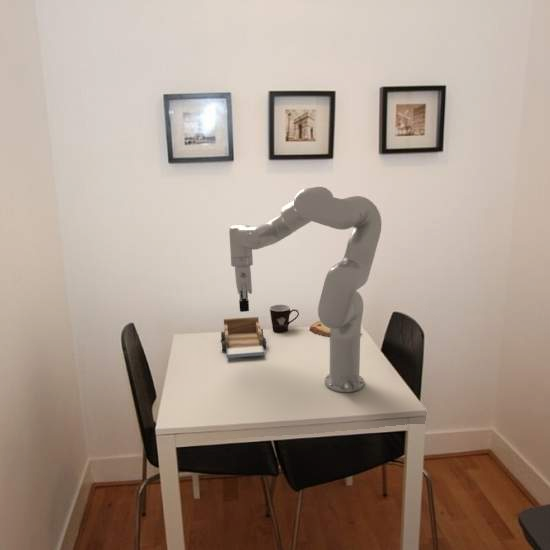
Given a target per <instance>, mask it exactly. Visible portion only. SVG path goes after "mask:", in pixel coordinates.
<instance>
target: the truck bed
mask: <svg viewBox="0 0 550 550" xmlns="http://www.w3.org/2000/svg"><path fill="white" fill-rule="evenodd" d="M220 336H221V337H220V338H221V350H222V352H225V354H227V348H237V347H250V346H263V348H264V349H265V348H267V339H266V338H265V337H264V330H263V328H261V325H260V321H259V316H250V317H238V318H237V317H236V318H235V317H234V318H224V319H223V331H221V332H220Z"/></svg>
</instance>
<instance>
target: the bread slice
mask: <svg viewBox="0 0 550 550" xmlns="http://www.w3.org/2000/svg"><path fill="white" fill-rule="evenodd" d="M308 330H309V332H312V333H313V334H314V335H317V334H318V336H320V335H321V336H322V337H325V338H330V328H328V327H326V326H324V325H323V324H322V322H321V321H320V320H318V321H316V322H314V323H313V324H312V325H311V326H310V328H309V329H308Z"/></svg>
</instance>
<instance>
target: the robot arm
mask: <svg viewBox="0 0 550 550" xmlns="http://www.w3.org/2000/svg"><path fill="white" fill-rule="evenodd" d="M311 222H313V223H317V224H319V225H323V226H326V227H329V228H332V229H334V230H335V229H336V230H343V231H344V230H349V229H352V232H351V234H350V235H349V238H348V241H347V244H346V249H345V252H344V255H343V257H342V260H341V261H340V262H338V263H335V264H334V265H333V266H331V268H330V269H329V270H328V271H327V273H326V276H325V279H324V282H323V287H322V289H321V290H322V291H321V294H320V298H319V303H318V306H317V315H318V319H319V321H321V322H322V324H323V325H324V326H326V327H328V328H330V337H329V374H327V375H326V376H325V377H324V384H325V386H326V387H327V388H328V389H330V390H332V391H334V392H339V393H354V392H357V391H359V390H361V389H362V388H364V386H365V380H364V378H363V377H362V376H361V375H360V365H361V364H360V363H361V362H360V360H361V359H360V358H361V355H360V354H361V335H362V334H361V333H362V331H361V329H362V321H363V313H364V300H363V297H362V295H361V294H360V292H358V291H357V290H359V289H360V288H362V287H363V286H364V285H365V284H367V282H368V280H369V276H370V273H371V269H372V265H373V262H374V258H375V255H376V251H377V248H378V244H379V240H380V237H381V232H382V225H383V224H382V216H381V213H380V211H379V208H377V206H376V205H375V204H374V202H372V201H371V200H370V199H369V198H367V197H365V196H362V195H361V196H360V195H355V196H354V195H353V196H349V197H345V198H338V197H334V195H333V193H332V192H331V190H330V189H328V188H327V187H324V186H313V187H309V188H304V189H302V190H300V191H299V192H298V193H297V194H296V195H295V196H294V199H293V200H292V201H291V202H289V203H287V204H286V205H284V206H283V207H282V208H281V211H280V215H279V216H277V217H275V218H274V219H271V220H269V222H267V223H263V224H258V225H255V226H250V225H248V224H235V225H234V224H233V225H231V226H230V228H229V230H228V231H229V232H228V233H229V234H228V235H229V248H230V249H229V250H230V251H229V252H230V265H231V266H232V267H233V268H234V274H235V275H234V276H235V284H236V286H235V287H236V289H237V294H238V295H239V301H238V302H239V303H238V304H239V312H240V313H243V312H249V311H250V307H249V306H250V300H249V294H250V295H252V294H253V289H252V287H253V286H252V272H251V266H253V265H254V261H253V250H254V251H255V250H259V249H263V248H266V247H268V246H272V245H275V244H276V243H278V242H280V241H282V240H283V239H285V238H287V237H289V236H290V235H292V234H293V233H295V232H297V231H298V230H300V229H301V228H303V227H305V226H306V225H308V224H310V223H311Z"/></svg>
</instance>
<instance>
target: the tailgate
mask: <svg viewBox="0 0 550 550" xmlns="http://www.w3.org/2000/svg"><path fill="white" fill-rule="evenodd" d="M265 353H266V352H265V348H263V346H250V347H237V348H227V353H226V358H227V359H231V358H232V359H233V358H243V357H258V356H265Z"/></svg>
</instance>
